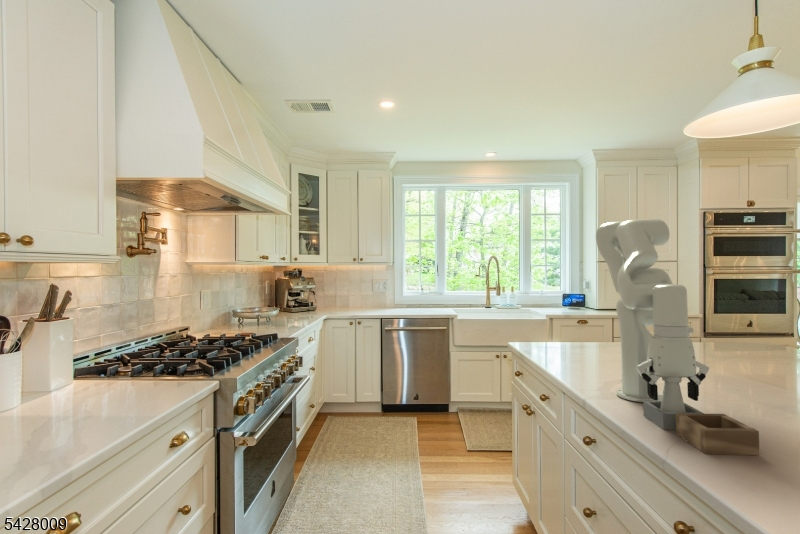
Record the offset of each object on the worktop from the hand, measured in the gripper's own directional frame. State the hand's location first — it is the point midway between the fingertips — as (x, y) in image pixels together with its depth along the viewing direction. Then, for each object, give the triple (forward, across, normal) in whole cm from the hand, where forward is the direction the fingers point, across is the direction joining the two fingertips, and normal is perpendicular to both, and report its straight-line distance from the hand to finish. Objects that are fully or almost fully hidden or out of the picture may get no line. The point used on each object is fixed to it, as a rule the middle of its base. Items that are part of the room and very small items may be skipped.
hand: (673, 399), depth 106 cm
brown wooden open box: (+6, -2, +13) cm, 14 cm away
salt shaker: (+6, 0, 0) cm, 6 cm away
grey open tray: (+6, 0, 0) cm, 6 cm away
